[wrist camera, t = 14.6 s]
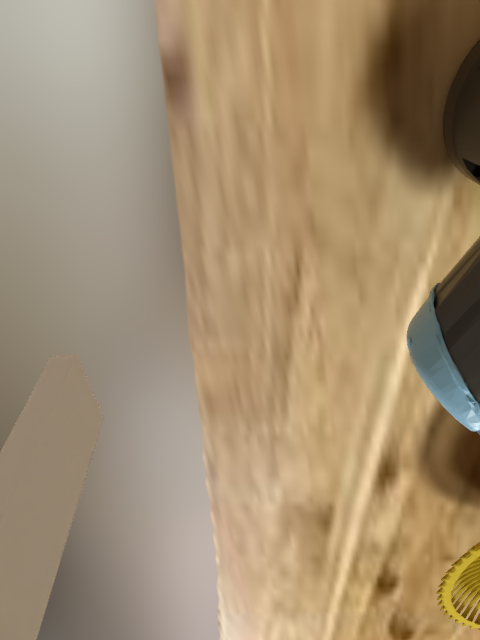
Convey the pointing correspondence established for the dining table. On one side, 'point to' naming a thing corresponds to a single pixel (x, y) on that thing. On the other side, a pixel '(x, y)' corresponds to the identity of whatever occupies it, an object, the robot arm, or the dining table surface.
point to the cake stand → (476, 573)
